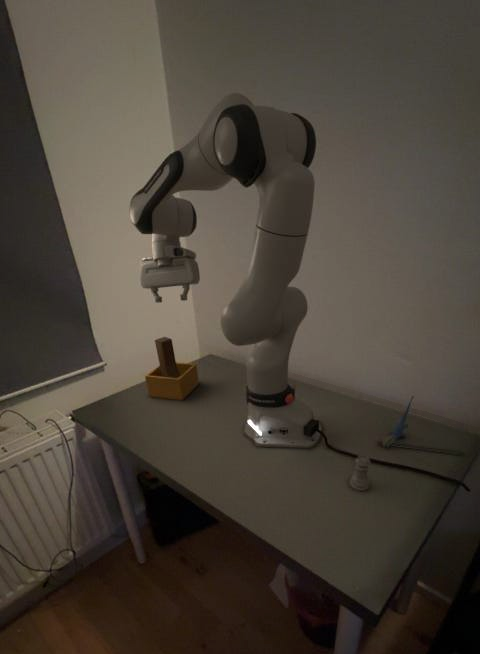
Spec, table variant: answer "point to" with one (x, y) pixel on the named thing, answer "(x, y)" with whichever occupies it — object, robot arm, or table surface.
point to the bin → (172, 382)
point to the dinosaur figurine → (397, 429)
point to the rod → (425, 449)
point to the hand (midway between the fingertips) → (171, 301)
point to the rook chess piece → (361, 474)
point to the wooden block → (166, 358)
